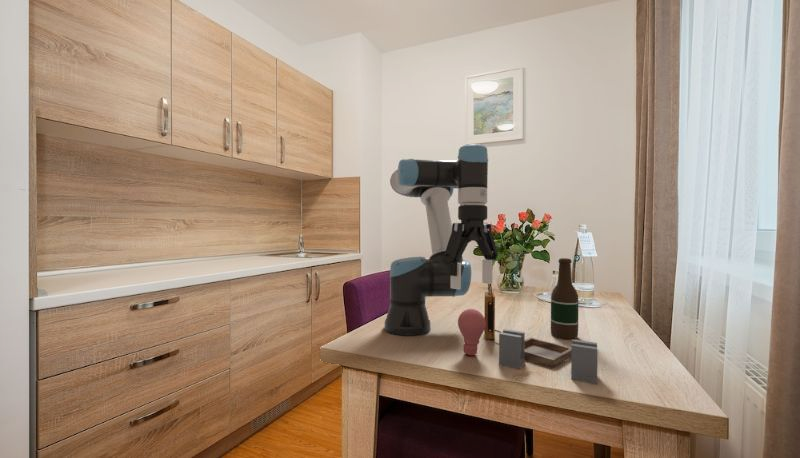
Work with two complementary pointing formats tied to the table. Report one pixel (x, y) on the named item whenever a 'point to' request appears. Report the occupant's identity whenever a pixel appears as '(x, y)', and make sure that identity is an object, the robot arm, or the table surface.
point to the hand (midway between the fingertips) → (472, 286)
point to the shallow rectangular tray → (546, 352)
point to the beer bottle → (564, 304)
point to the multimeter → (490, 314)
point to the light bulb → (471, 329)
